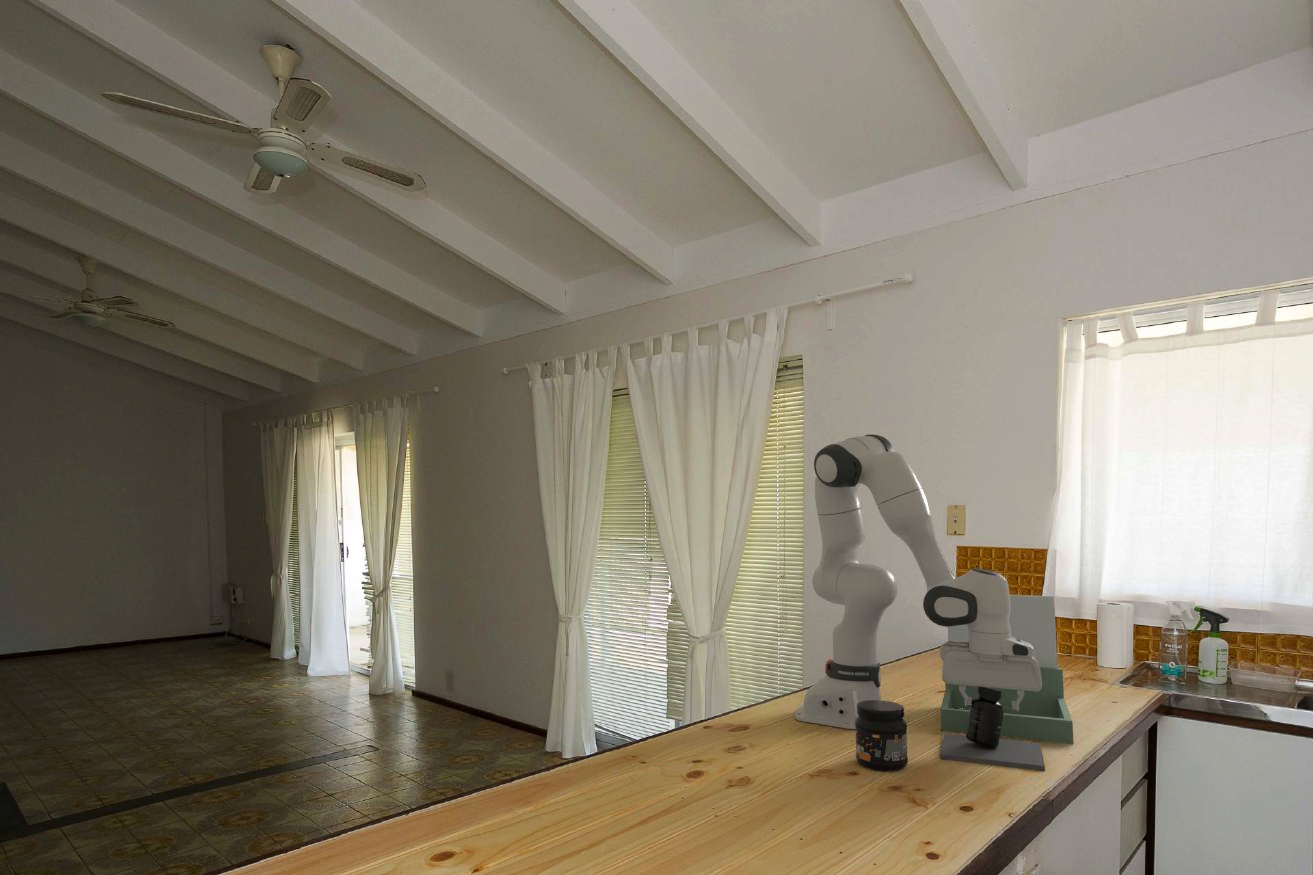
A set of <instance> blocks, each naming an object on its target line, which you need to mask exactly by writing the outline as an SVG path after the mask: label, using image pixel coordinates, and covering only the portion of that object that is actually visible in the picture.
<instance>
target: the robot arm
mask: <svg viewBox="0 0 1313 875" xmlns="http://www.w3.org/2000/svg"><path fill="white" fill-rule="evenodd" d="M813 469H814V472H815V475H816V477H815V478H814V499H815V500H814V502H815V507H816V512H817V513H816V514H817V519H818V524H819V531H820V536H821V548H822V549H821V558H820V562H819V565H818V566H817V568H816V569H815V571H814V572H813V574H812V575H813V576H812V588H813V590H814V591H815V594H816V595H817V596H819V597H820V598H822V599H824V600H825V601H827V602H829V603H832V604H836V605H840V606H841V605H842V606H844V613H843V616H842V619H841V621H840V623H838V624H837V625H836V626H835V627H834V628H833V630H832V655H833V656H832V658H829V659H828V660H827V661H826V663H825V664H824V665H825V667H824V670H825V674H826V675H825V676H824V677H822V678H821V679H819V680H818V681H817V682H815V683H814V684H813V685H812V686H810V687H809V688H808V689H807V690H806V692H805V695H804V699H803V705H802V706H800V707H798V708H797V709H796V710H795V712H794V719H795V720H796V721H799V722H804V723H805V722H806V723H812V724H816V725H824V726H829V727H834V728H835V727H836V728H842V729H847V730H856V727H855V719H856V718H857V717H858V714H857V704H858V703H859V702H862V701H867V700H882V694H881V688H880V687H881V685H882V672H881V670H882V669H881V663H880V662H879V632H880V631H879V629H880V626H881V625H880V624H881V622H882V619H883V616H884V614H885V612H886V611H887V609H888V608H889V607H890V606H892V604H893V603H894V602H895V601H896V598H897V595H898V582H897V579H896V576H895V575H894V574H893V573H892V572H891V571H889V570H888V569H885V568H883V567H880V566H877V565H874V564H867V563H859V559H858V556H859V549H860V546H861V545H862V544H863V543H864V542H865V540H866V538H867V532H866V525H865V521H864V517H863V510H862V505H861V501H860V496H859V486H860V485H861V484H862V485H864V486H865V487H867V488H868V490H869V491H870V493H871V496H872V498H873V500H874V503H875V504H876V507H877V511H878V512H879V514H880V516H881V518H882V519H883V521H884V522H885V524H886V525H887V527H888V528H889V530H890V532H891V533H893V534H894V535H895V536H896V537H898V538H899V539H900V540H901V541H902V542H904V544H905V545H906V546H907V547H908V548H909V550H910V551H911V553H912V554H913V557H914V559H915V561H916V563H917V565H918V568H919V570H920V572H921V574H922V576H923V579H924V581H925V584H926V593H925V596H924V598H923V602H922V603H923V604H922V607H923V611H924V613H925V615H926V617H927V618H928V619H929V621H931V622H933V624H935V625H937V626H940V627H945V628H948V627H952V626H958V625H965V624H967V625H968V642H953V641H948V640H947V641H946V642H944V643H942V644H941V645H940V646H939V656H940V658H941V660H942V662H943V663H942V668H941V671H942V672H941V680H942V681H943V683H946V684H952V685H959V691H960V692H961V694H962V696H963V697H964V698H965V706H969V707H972V703H971V702H972V697H968V696H967V695H966V693H965V691H964V690H966V686H976V687H988V688H1000V689H1012V690H1016V692H1017V695H1018V697H1017V698H1016V700H1015V701H1011V710H1012V711H1019V703H1020V702H1021V700H1022V698H1023V697H1024V691H1035V692H1038V691H1040V690H1041V688H1042V679H1041V673H1040V668H1039V665H1038V662H1037V660H1036V659H1035V658H1034V647H1033V646H1032V645H1031V644H1030V643H1028V642H1025V641H1022V640H1019V639H1017V638H1014V637H1011V628H1010V624H1009V616H1010V612H1011V607H1010V595H1011V594H1010V589H1009V583H1008V581H1007V579H1006V578H1005V577H1004V576H1003V575H1002V574H1000V573H999V572H996V571H993V570H989V569H985V568H983V569H982V568H972V569H970V570H968V572H966V573H964V574H962V575H960V576H958V577H956V576H955V575H954V574H953V572H952V570H951V568H950V567H949V564H948V562H947V560H946V558H945V556H944V554H943V551H942V549H941V547H940V545H939V543H938V541H937V538H936V534H935V530H934V524H933V519H932V514H931V508H930V506H929V502H928V500H927V496H926V494H925V492H924V489H923V487H922V485H921V483H920V480H919V479H918V477H917V475H916V473H915V471H914V470H913V468H912V467H911V466H910V464H909V462H908V461H907V459H906V458H905V457H904V456H903V455H902V454H901V453H899V452H897V451H894V447H893V445H892V443H891V442H890V441H889V439H887V438H886V437H885V436H882V435H879V434H865V435H863V436H860V435H859V436H853V437H849V438H847V439H845V440H842V441H838V442H836V443H830V444H828V445H826V446H824V447H823V448H821V449H820V450H818V452H817V453H816V455H815V457H814V460H813ZM954 646H956V647H954ZM968 647H969V648H968ZM968 649H969V650H968Z"/></svg>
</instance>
